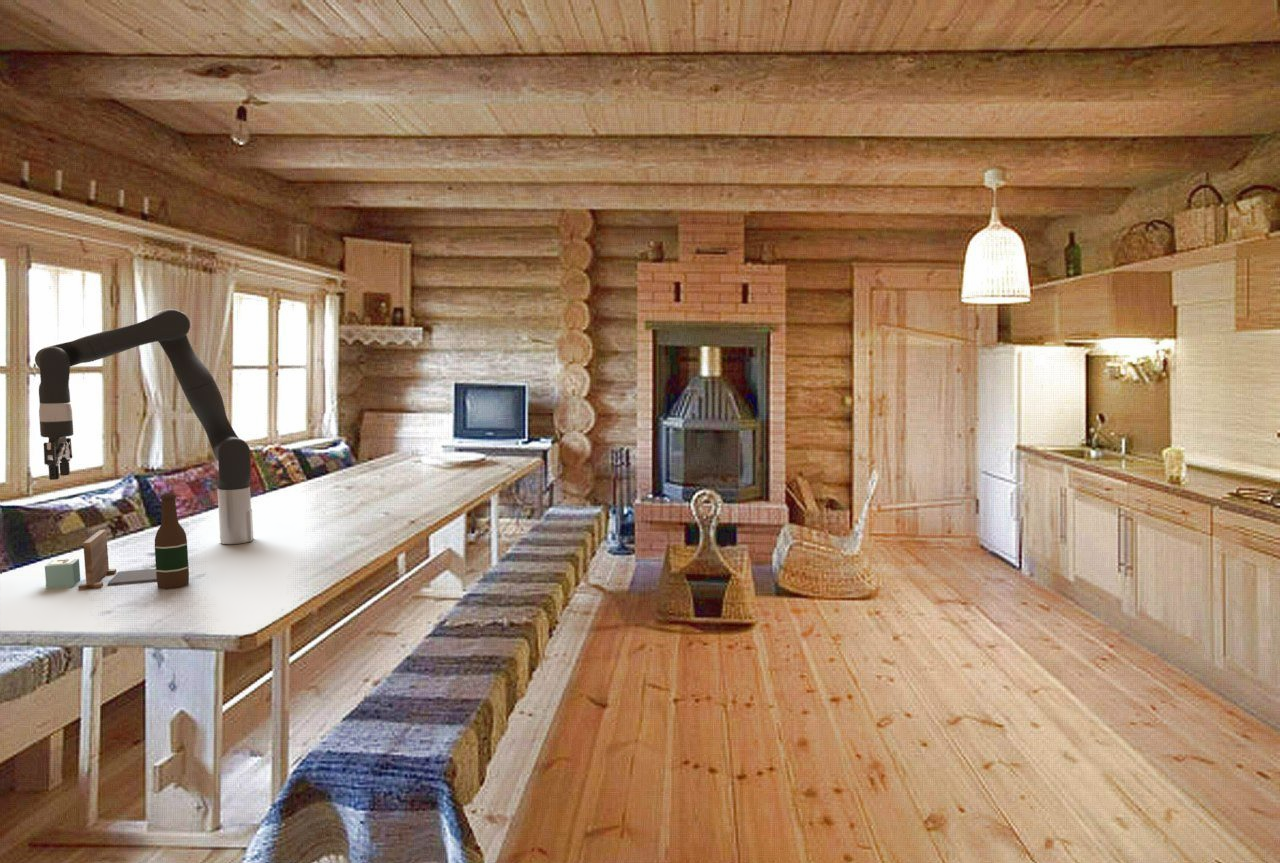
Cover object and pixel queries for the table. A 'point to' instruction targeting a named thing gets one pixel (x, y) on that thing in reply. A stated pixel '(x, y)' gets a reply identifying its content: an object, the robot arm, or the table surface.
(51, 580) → the letter cube
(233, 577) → the table surface
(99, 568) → the wooden footed board
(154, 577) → the mat
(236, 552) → the table surface
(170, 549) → the beer bottle
